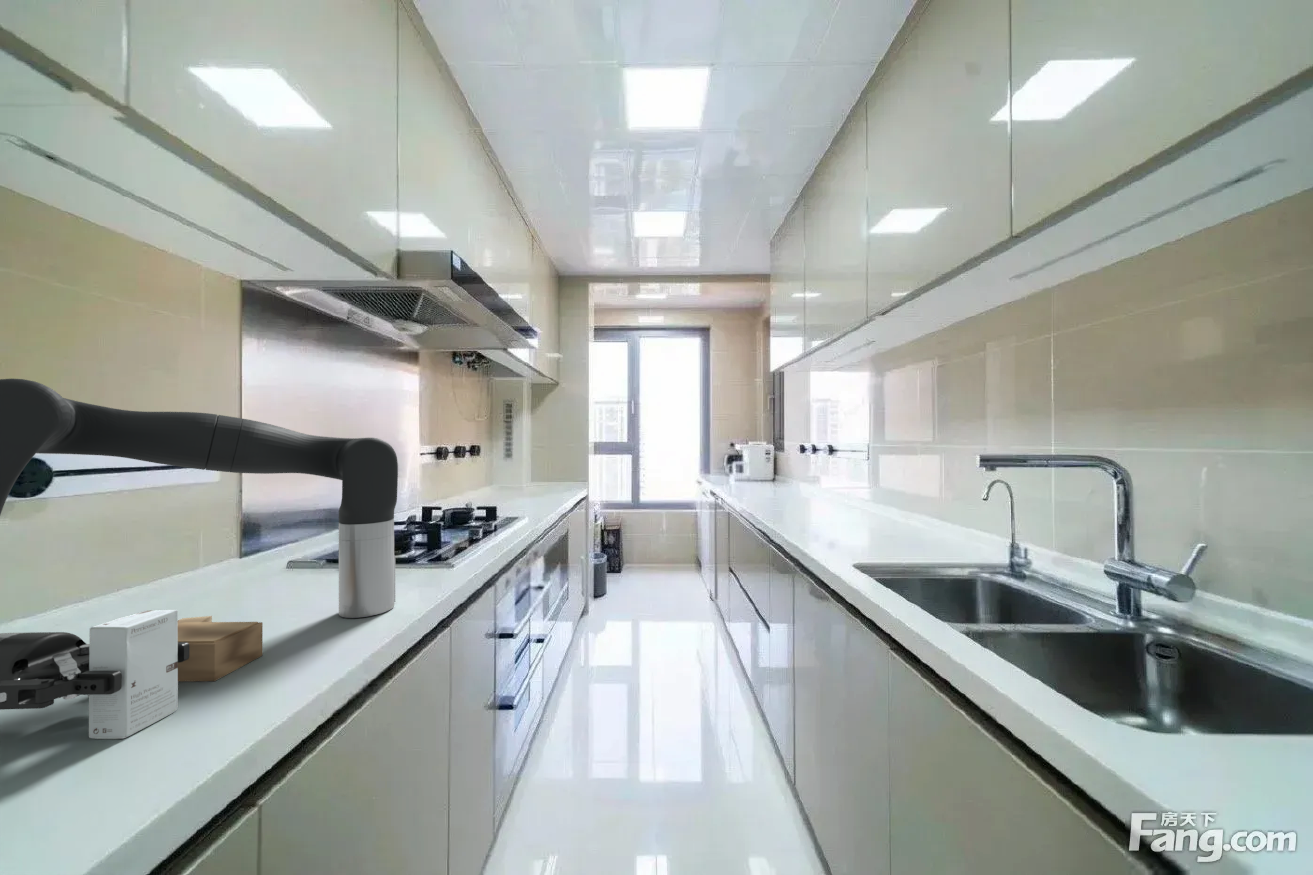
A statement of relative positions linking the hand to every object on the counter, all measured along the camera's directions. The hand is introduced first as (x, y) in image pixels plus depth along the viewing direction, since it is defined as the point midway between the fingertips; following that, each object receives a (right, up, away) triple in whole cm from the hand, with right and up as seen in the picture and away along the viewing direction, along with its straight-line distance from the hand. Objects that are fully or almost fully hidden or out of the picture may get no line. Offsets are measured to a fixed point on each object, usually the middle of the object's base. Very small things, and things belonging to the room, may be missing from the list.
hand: (154, 666), depth 56 cm
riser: (-8, -7, +14) cm, 17 cm away
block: (-17, -7, +22) cm, 29 cm away
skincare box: (-2, -7, 0) cm, 7 cm away
